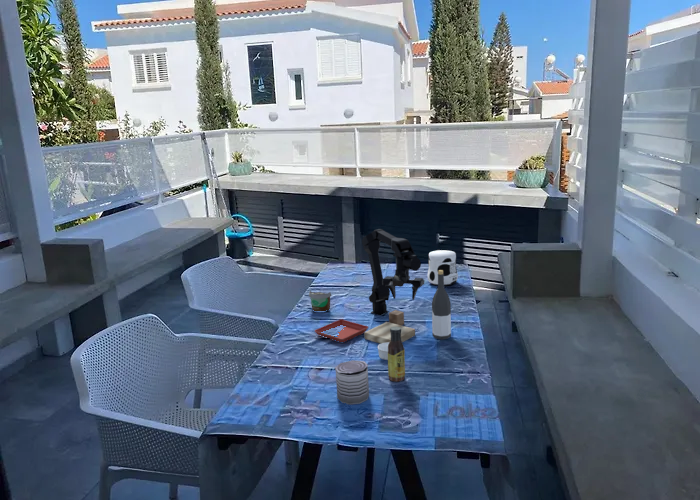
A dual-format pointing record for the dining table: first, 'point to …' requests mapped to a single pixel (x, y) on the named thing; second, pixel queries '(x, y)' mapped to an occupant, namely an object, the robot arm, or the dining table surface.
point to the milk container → (442, 267)
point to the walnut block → (396, 317)
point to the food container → (320, 301)
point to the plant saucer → (347, 333)
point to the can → (352, 382)
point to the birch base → (387, 333)
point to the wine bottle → (441, 311)
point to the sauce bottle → (396, 356)
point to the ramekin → (383, 350)
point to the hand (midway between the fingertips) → (403, 299)
